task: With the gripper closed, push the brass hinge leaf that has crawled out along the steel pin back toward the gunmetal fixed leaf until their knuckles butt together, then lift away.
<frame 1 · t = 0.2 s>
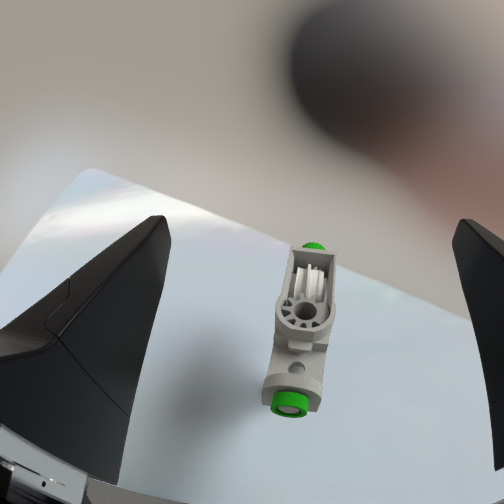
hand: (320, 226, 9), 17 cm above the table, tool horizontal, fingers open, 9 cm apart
mechanical component: (292, 390, 22), on the table
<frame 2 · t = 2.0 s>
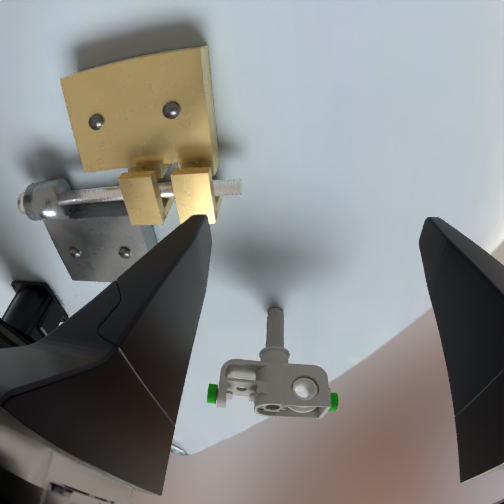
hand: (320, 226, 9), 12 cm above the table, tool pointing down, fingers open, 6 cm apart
loose leaf: (138, 140, 18), point 2 cm above the table, slide at 6.0 cm
fixed leaf: (88, 183, 22), on the table
mechanical component: (275, 311, 31), on the table
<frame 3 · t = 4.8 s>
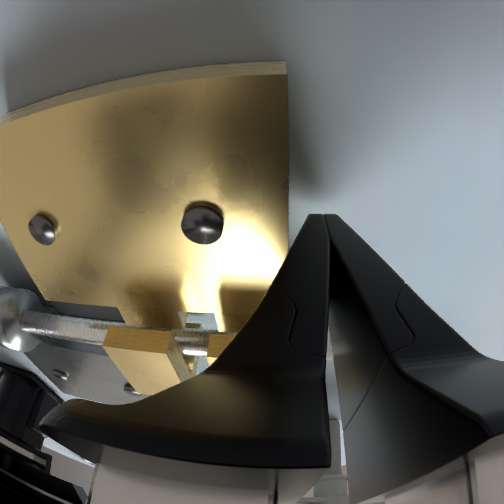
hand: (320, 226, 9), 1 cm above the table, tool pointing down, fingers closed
loose leaf: (132, 267, 9), point 2 cm above the table, slide at 5.7 cm, touching gripper
fixed leaf: (64, 292, 13), on the table
mechanical component: (329, 420, 22), on the table
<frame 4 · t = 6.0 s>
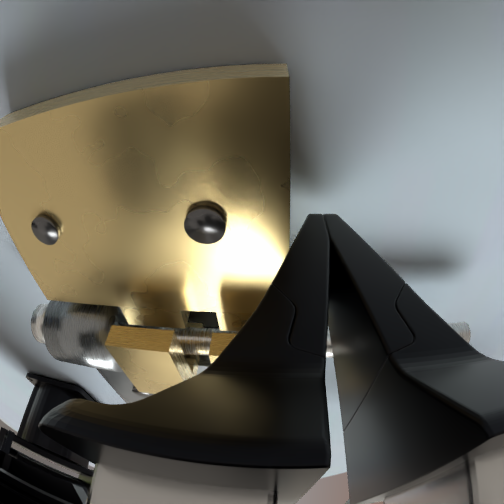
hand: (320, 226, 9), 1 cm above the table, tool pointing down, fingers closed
loose leaf: (134, 266, 9), point 2 cm above the table, slide at 0.3 cm, touching gripper
fixed leaf: (168, 298, 13), on the table
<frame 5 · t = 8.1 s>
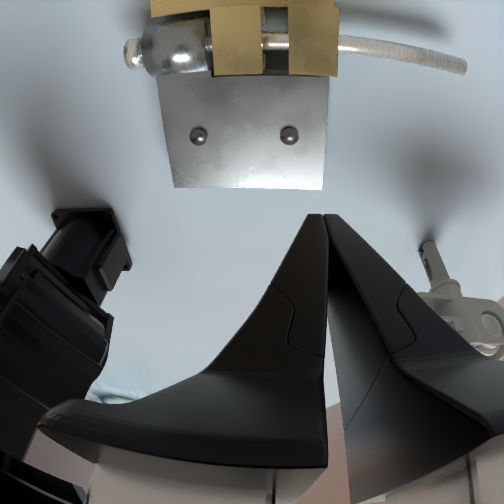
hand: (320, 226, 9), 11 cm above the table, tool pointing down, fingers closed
fixed leaf: (243, 38, 15), on the table
mechanical component: (426, 247, 24), on the table
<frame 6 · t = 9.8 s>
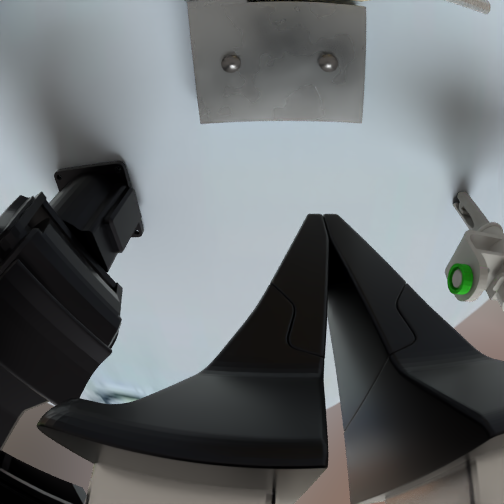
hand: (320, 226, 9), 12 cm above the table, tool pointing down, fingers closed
mechanical component: (460, 198, 21), on the table
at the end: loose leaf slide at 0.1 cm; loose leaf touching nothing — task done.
